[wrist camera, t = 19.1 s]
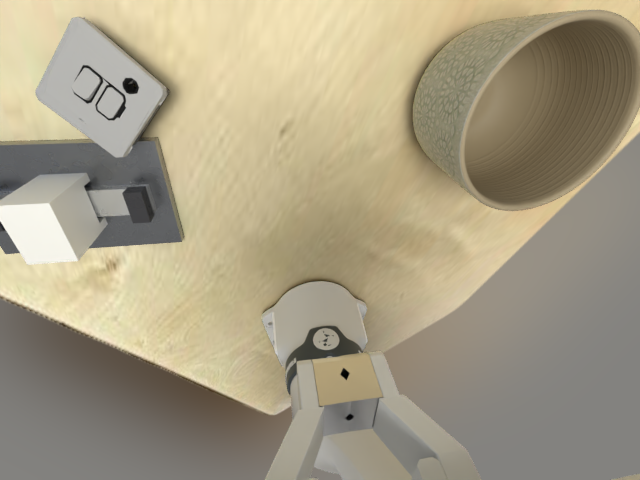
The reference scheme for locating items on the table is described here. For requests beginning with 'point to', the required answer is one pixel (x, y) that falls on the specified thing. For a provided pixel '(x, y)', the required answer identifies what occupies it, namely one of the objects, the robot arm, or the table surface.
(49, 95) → the electrical switch
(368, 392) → the robot arm
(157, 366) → the table surface
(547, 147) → the planter
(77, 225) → the din module
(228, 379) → the table surface
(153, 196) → the din board
